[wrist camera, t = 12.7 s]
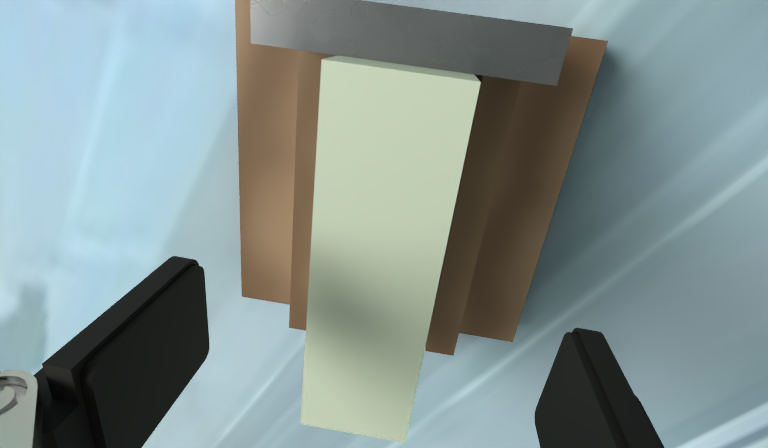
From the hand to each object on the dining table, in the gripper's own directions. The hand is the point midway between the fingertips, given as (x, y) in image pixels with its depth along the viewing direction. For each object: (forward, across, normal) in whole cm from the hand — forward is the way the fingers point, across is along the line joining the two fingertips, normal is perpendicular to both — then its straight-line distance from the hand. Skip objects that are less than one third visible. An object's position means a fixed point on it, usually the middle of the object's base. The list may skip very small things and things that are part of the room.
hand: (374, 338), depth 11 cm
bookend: (+11, +1, -7) cm, 13 cm away
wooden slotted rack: (+13, +1, 0) cm, 13 cm away
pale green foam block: (+12, +1, 0) cm, 12 cm away
